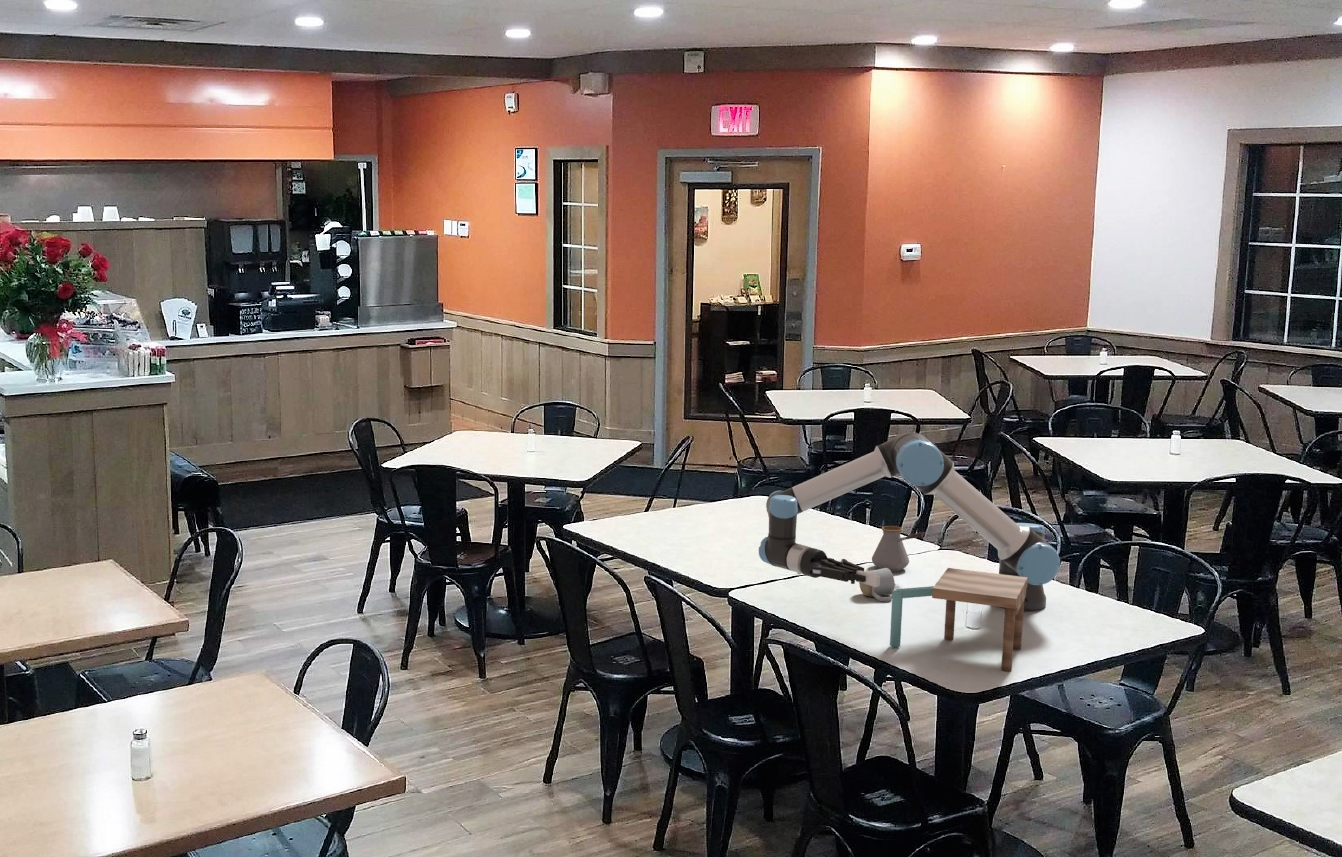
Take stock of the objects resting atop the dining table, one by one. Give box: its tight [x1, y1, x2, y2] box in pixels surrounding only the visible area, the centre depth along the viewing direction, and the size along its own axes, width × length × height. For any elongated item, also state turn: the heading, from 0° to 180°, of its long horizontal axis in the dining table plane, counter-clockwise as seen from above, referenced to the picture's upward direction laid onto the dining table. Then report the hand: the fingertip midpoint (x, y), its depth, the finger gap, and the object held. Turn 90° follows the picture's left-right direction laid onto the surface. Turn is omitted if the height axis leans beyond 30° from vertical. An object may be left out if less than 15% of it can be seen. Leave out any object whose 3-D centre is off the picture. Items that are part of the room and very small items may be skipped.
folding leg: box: [889, 585, 935, 648], centre depth 329 cm, size 16×3×15 cm, turn 108°
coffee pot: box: [871, 525, 929, 573], centre depth 395 cm, size 21×12×15 cm, turn 30°
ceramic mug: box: [858, 568, 896, 603], centre depth 370 cm, size 11×8×8 cm
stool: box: [931, 567, 1028, 673], centre depth 323 cm, size 20×20×18 cm
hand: (877, 581), depth 329 cm, fingers closed
